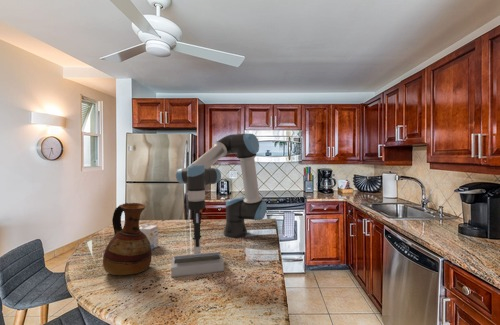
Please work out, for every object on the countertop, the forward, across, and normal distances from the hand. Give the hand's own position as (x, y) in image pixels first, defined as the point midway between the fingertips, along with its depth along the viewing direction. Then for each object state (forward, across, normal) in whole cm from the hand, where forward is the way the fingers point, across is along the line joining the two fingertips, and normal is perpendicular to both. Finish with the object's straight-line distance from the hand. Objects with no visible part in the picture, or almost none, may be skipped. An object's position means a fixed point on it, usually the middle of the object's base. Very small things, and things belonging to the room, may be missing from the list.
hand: (197, 253), depth 119 cm
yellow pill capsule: (+6, -2, 0) cm, 6 cm away
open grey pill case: (+8, -2, 0) cm, 8 cm away
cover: (+2, -2, 0) cm, 3 cm away
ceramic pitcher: (+8, -7, -30) cm, 32 cm away
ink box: (+8, -38, -26) cm, 47 cm away
